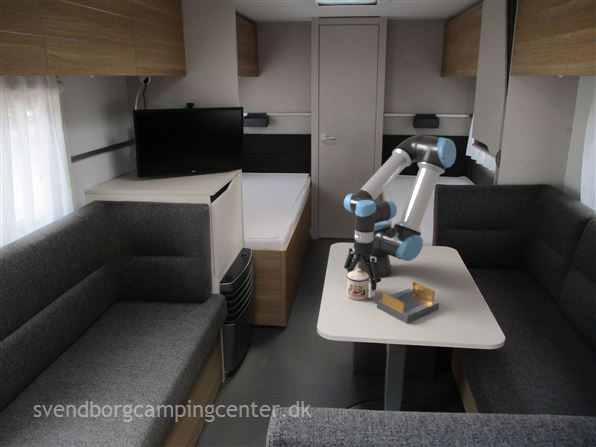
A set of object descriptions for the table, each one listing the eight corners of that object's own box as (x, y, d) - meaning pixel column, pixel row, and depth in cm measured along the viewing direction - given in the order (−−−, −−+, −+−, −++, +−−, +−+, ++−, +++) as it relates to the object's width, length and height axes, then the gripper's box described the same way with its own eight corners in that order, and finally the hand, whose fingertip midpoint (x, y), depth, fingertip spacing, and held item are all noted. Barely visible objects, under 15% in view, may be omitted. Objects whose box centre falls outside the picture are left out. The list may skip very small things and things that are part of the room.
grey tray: (376, 307, 193) (378, 291, 191) (408, 295, 204) (409, 279, 202) (406, 323, 182) (408, 306, 180) (438, 309, 193) (440, 293, 190)
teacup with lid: (344, 299, 200) (345, 272, 196) (347, 289, 208) (348, 263, 205) (375, 302, 198) (376, 275, 194) (376, 292, 206) (378, 266, 202)
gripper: (336, 233, 202) (334, 283, 209) (379, 251, 184) (375, 304, 191) (350, 230, 207) (348, 279, 213) (393, 246, 189) (389, 299, 196)
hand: (361, 291), depth 202 cm, fingers open, 11 cm apart
